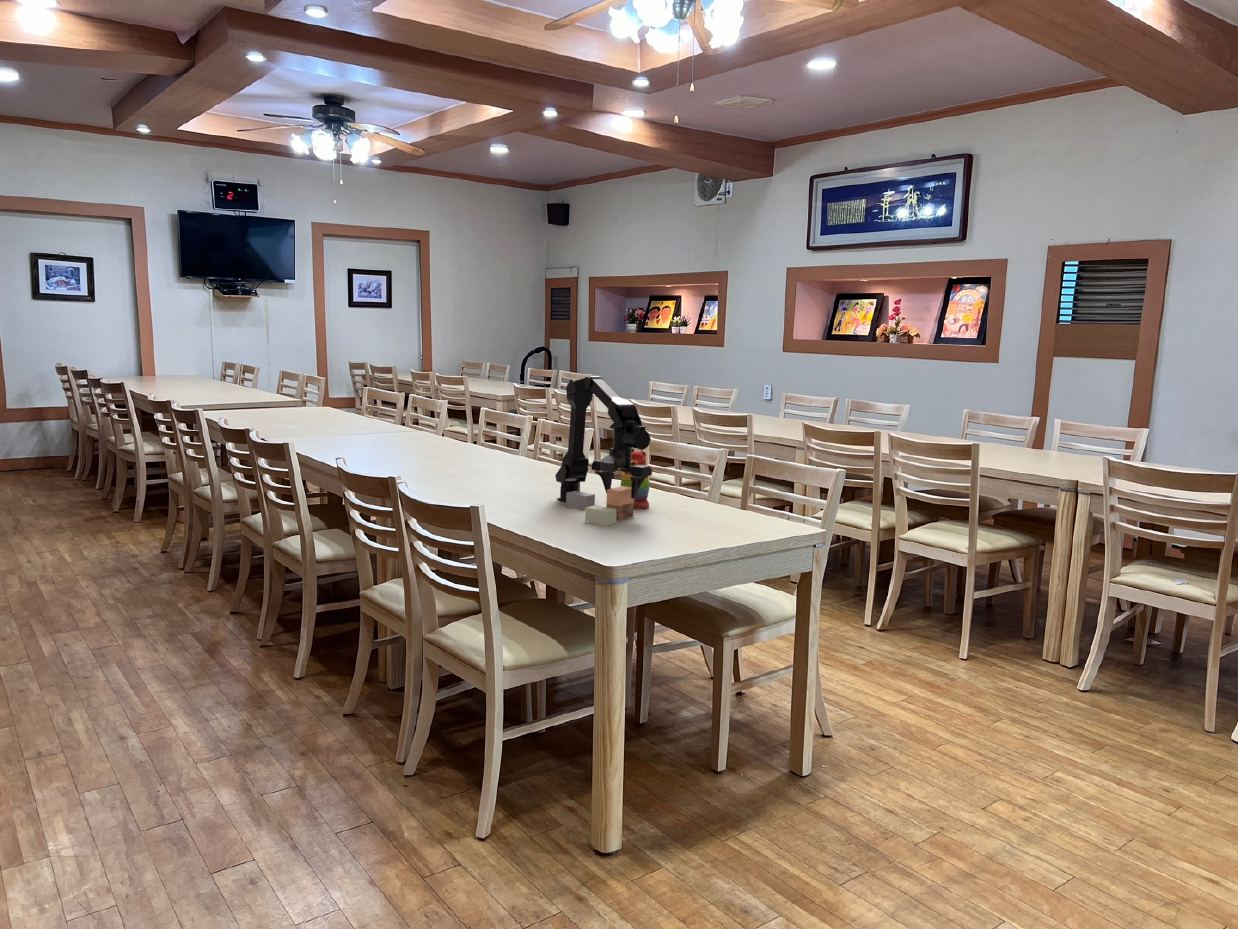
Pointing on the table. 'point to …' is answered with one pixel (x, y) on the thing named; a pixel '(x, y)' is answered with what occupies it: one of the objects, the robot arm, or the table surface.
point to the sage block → (600, 515)
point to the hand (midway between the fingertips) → (620, 496)
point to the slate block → (580, 499)
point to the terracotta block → (619, 496)
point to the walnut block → (623, 510)
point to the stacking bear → (642, 493)
